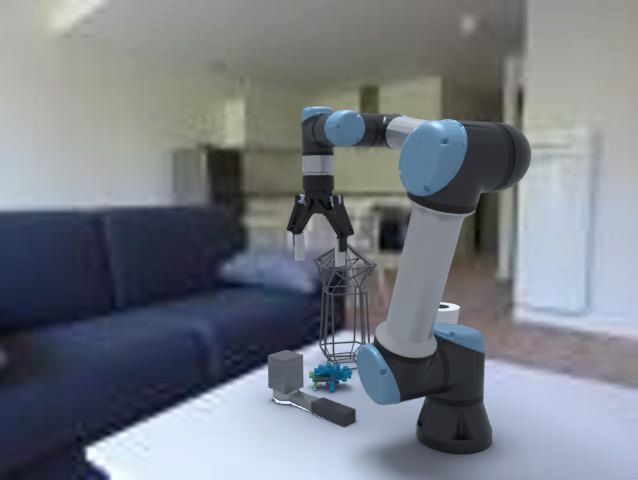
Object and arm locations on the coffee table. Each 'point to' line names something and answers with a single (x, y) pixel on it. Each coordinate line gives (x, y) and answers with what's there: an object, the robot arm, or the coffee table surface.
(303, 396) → the ratchet
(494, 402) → the coffee table surface
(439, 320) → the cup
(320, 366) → the gear
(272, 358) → the grey rectangular block
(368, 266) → the geometric lantern
